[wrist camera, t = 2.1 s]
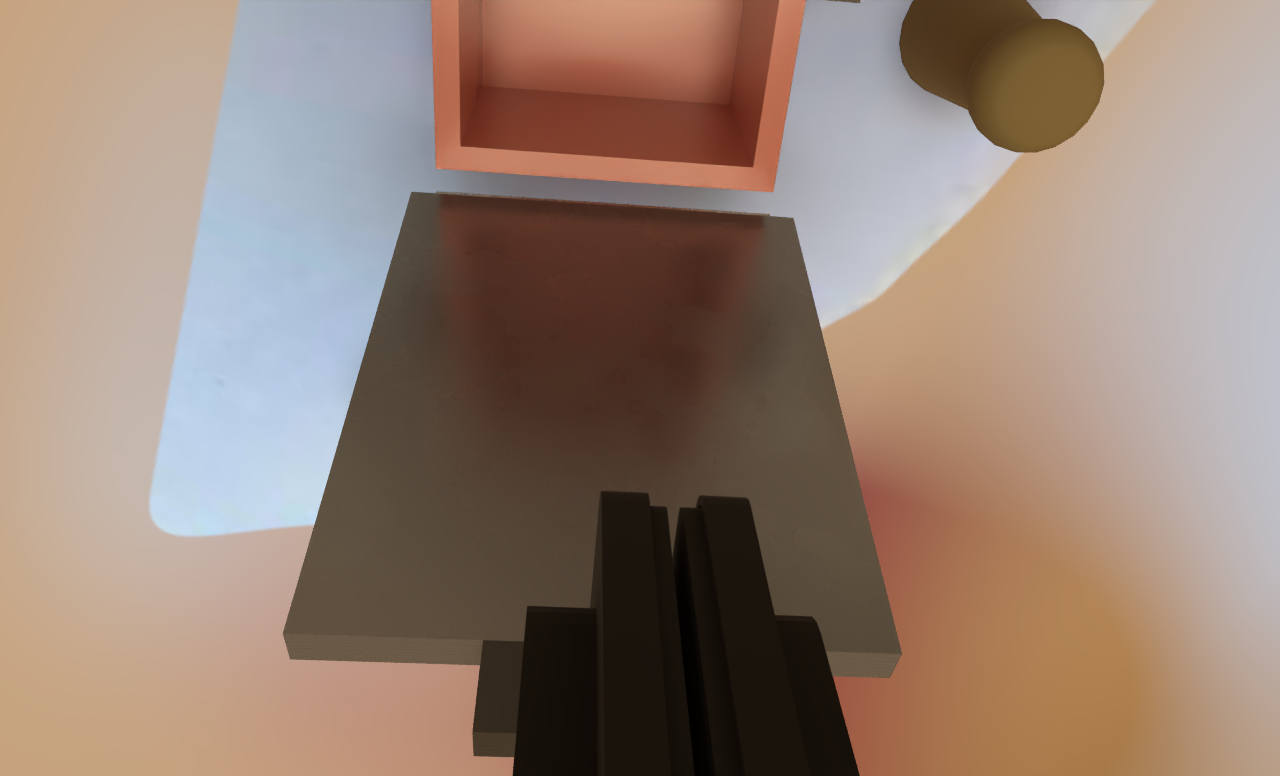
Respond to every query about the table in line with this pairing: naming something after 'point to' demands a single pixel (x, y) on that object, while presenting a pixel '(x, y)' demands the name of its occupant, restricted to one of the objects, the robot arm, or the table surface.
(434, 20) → the orange wooden open box
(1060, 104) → the cork
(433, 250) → the grey box lid
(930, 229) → the table surface
